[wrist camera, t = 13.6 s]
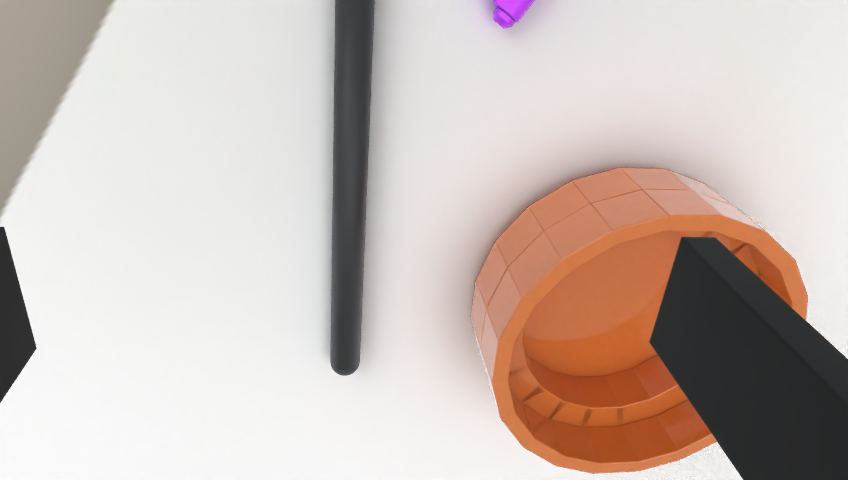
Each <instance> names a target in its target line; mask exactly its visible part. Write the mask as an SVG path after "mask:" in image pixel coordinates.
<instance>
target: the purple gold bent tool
mask: <svg viewBox="0 0 848 480" xmlns="http://www.w3.org/2000/svg"><path fill="white" fill-rule="evenodd" d="M534 1H535V0H495V1H494V4H495V5H496V6H497V8H496V10H495V11H494V21H495V22H496V23H498V24H499V25H500V26H501V27H502V28H508V27H512V26H513V24H514V23H515V22H518V21H519V20H520V19H521V17H522V16H523V15H524V13H525V12H526V11H527V10H528V8H529V7H530V6H531V4H532V3H533V2H534Z"/></svg>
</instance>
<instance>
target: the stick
mask: <svg viewBox="0 0 848 480" xmlns="http://www.w3.org/2000/svg"><path fill="white" fill-rule="evenodd" d="M373 25H374V0H335V70H334V143H333V216H332V289H331V366H332V369H333V370H334V371H335V372H336V373H337V374H339V375H350V374H352V373H354V372H355V371H356V370H357V368H358V366H359V362H360V341H361V316H362V292H363V268H364V243H365V219H366V195H367V170H368V146H369V122H370V97H371V73H372V49H373Z"/></svg>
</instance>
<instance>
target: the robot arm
mask: <svg viewBox="0 0 848 480" xmlns="http://www.w3.org/2000/svg"><path fill="white" fill-rule="evenodd" d="M649 343H650V344H651V346H652V347H653V349H654V350H655V351H656V353H657V354H658V356H659V357H660V359H661V360H662V362H663V363H664V365H665V366H666V368H667V369H668V370H669V372H670V373H671V375H672V376H673V378H674V379H675V381H676V382H677V384H678V385H679V386H680V388H681V389H682V391H683V392H684V394H685V395H686V397H687V398H688V400H689V401H690V403H691V404H692V405H693V407H694V408H695V410H696V411H697V413H698V414H699V416H700V417H701V419H702V420H703V422H704V423H705V424H706V426H707V427H708V429H709V430H710V432H711V433H712V435H713V436H714V438H715V439H716V440H717V442H718V443H719V445H720V446H721V448H722V449H723V451H724V452H725V454H726V455H727V457H728V458H729V459H730V461H731V462H732V464H733V465H734V467H735V468H736V470H737V471H738V473H739V474H740V476H741V477H742V478H743V480H848V359H847V358H846V357H845V356H844V355H842V354H841V353H840V352H839V351H838V350H837V349H836V348H835V347H834V346H833V345H832V344H831V343H829V342H828V341H827V340H826V339H825V338H824V337H823V336H822V335H821V334H820V333H819V332H818V331H816V330H815V329H814V328H813V327H812V326H811V325H810V324H809V323H808V322H807V321H806V320H805V319H803V318H802V317H801V316H800V315H799V314H798V313H797V312H796V311H795V310H794V309H793V308H791V307H790V306H789V305H788V304H787V303H786V302H785V301H784V300H783V299H782V298H781V297H780V296H778V295H777V294H776V293H775V292H774V291H773V290H772V289H771V288H770V287H769V286H768V285H767V284H765V283H764V282H763V281H762V280H761V279H760V278H759V277H758V276H757V275H756V274H755V273H754V272H752V271H751V270H750V269H749V268H748V267H747V266H746V265H745V264H744V263H743V262H742V261H740V260H739V259H738V258H737V257H736V256H735V255H734V254H733V253H732V252H731V251H730V250H729V249H727V248H726V247H725V246H724V245H723V244H722V243H721V242H720V241H719V240H718V239H717V238H716V237H681V240H680V243H679V247H678V250H677V253H676V256H675V260H674V263H673V266H672V269H671V273H670V276H669V279H668V282H667V286H666V289H665V292H664V296H663V299H662V302H661V305H660V309H659V312H658V315H657V318H656V322H655V325H654V328H653V331H652V335H651V338H650V341H649ZM35 350H36V344H35V341H34V337H33V333H32V330H31V326H30V322H29V318H28V315H27V311H26V307H25V303H24V300H23V296H22V292H21V288H20V285H19V281H18V277H17V273H16V270H15V266H14V262H13V259H12V255H11V251H10V247H9V244H8V240H7V236H6V232H5V229H4V227H0V402H1V401H2V399H3V398H4V396H5V395H6V393H7V392H8V390H9V389H10V387H11V386H12V384H13V383H14V381H15V380H16V378H17V377H18V375H19V374H20V372H21V371H22V369H23V368H24V366H25V365H26V363H27V362H28V360H29V359H30V357H31V356H32V354H33V353H34V351H35Z"/></svg>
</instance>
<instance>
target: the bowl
mask: <svg viewBox="0 0 848 480" xmlns="http://www.w3.org/2000/svg"><path fill="white" fill-rule="evenodd" d="M681 237H716V238H717V239H718V240H719V241H720V242H721V243H722V244H723V245H724V246H725V247H726V248H727V249H729V250H730V251H731V252H732V253H733V254H734V255H735V256H736V257H737V258H738V259H739V260H740V261H742V262H743V263H744V264H745V265H746V266H747V267H748V268H749V269H750V270H751V271H752V272H754V273H755V274H756V275H757V276H758V277H759V278H760V279H761V280H762V281H763V282H764V283H765V284H767V285H768V286H769V287H770V288H771V289H772V290H773V291H774V292H775V293H776V294H777V295H778V296H780V297H781V298H782V299H783V300H784V301H785V302H786V303H787V304H788V305H789V306H790V307H791V308H793V309H794V310H795V311H796V312H797V313H798V314H799V315H800V316H801V317H802V318H803V319H805V320H806V314H807V302H808V295H807V292H806V289H805V286H804V284H803V281H802V278H801V275H800V272H799V269H798V267H797V264H796V261H795V259H794V258H793V257H792V256H791V255H790V254H789V253H788V252H787V251H786V250H785V249H784V248H783V247H782V246H781V245H780V244H778V243H777V242H776V241H775V240H774V239H773V238H772V237H771V236H770V235H769V234H768V233H767V232H766V231H765V230H764V229H762V228H761V227H760V226H758V225H757V224H756V223H754V222H753V221H752V220H751V219H749V218H748V217H747V216H745V215H744V214H743V213H742V212H740V211H739V210H738V209H736V208H735V207H734V206H733V205H731V204H730V203H729V202H727V201H726V200H725V199H724V198H722V197H721V196H720V195H718V194H717V193H716V192H714V191H713V190H712V189H711V188H709V187H708V186H707V185H705V184H704V183H701V182H699V181H696V180H693V179H691V178H688V177H686V176H683V175H681V174H678V173H675V172H673V171H670V170H668V169H651V168H615V169H612V170H608V171H605V172H601V173H597V174H594V175H590V176H586V177H583V178H579V179H575V180H572V181H570V182H568V183H567V184H565V185H563V186H562V187H560V188H558V189H557V190H555V191H553V192H552V193H550V194H548V195H547V196H545V197H543V198H542V199H540V200H538V201H537V202H535V203H533V204H532V205H530V206H529V207H527V208H526V209H525V210H524V211H523V212H522V214H521V215H520V216H519V217H518V218H517V219H516V220H515V221H514V222H513V223H512V224H511V225H510V226H509V227H508V228H507V229H506V230H505V231H504V232H503V233H502V234H501V235H500V237H499V238H498V239H497V240H496V242H495V243H494V245H493V247H492V249H491V251H490V253H489V255H488V257H487V259H486V261H485V263H484V265H483V267H482V269H481V271H480V273H479V275H478V277H477V279H476V281H475V288H474V296H473V303H472V311H471V322H472V326H473V330H474V334H475V338H476V342H477V346H478V349H479V353H480V356H481V359H482V362H483V366H484V369H485V372H486V375H487V378H488V381H489V384H490V388H491V391H492V394H493V397H494V400H495V403H496V406H497V410H498V413H499V416H500V418H501V420H502V421H503V422H504V424H505V425H506V426H507V427H508V429H509V430H510V431H511V433H512V434H513V435H514V436H515V438H516V439H517V440H518V441H519V443H520V444H521V445H522V446H523V447H524V448H525V449H527V450H529V451H531V452H532V453H534V454H536V455H538V456H540V457H541V458H543V459H545V460H547V461H548V462H550V463H552V464H554V465H556V466H559V467H564V468H569V469H573V470H578V471H583V472H588V473H593V474H595V473H616V472H636V471H641V470H645V469H649V468H652V467H656V466H660V465H663V464H667V463H671V462H675V461H678V460H680V459H683V458H685V457H687V456H689V455H691V454H693V453H695V452H697V451H699V450H701V449H703V448H705V447H707V446H709V445H711V444H713V443H715V442H717V440H716V439H715V438H714V436H713V435H712V433H711V432H710V430H709V429H708V427H707V426H706V424H705V423H704V422H703V420H702V419H701V417H700V416H699V414H698V413H697V411H696V410H695V408H694V407H693V405H692V404H691V403H690V401H689V400H688V398H687V397H686V395H685V394H684V392H683V391H682V389H681V388H680V386H679V385H678V384H677V382H676V381H675V379H674V378H673V376H672V375H671V373H670V372H669V370H668V369H667V368H666V366H665V365H664V363H663V362H662V360H661V359H660V357H659V356H658V354H657V353H656V351H655V350H654V349H653V347H652V346H651V344H650V343H649V341H650V338H651V335H652V331H653V328H654V325H655V322H656V318H657V315H658V312H659V309H660V305H661V302H662V299H663V296H664V292H665V289H666V286H667V282H668V279H669V276H670V273H671V269H672V266H673V263H674V260H675V256H676V253H677V250H678V247H679V243H680V240H681Z"/></svg>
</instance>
